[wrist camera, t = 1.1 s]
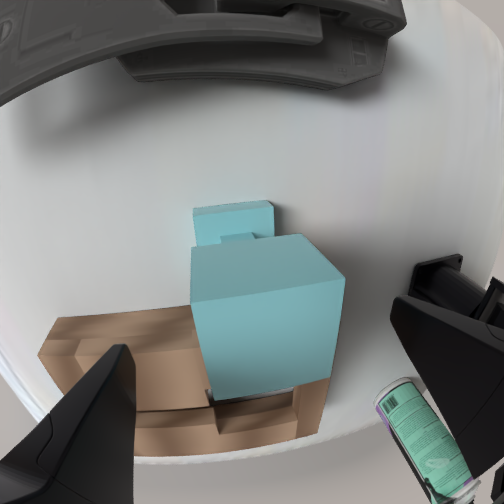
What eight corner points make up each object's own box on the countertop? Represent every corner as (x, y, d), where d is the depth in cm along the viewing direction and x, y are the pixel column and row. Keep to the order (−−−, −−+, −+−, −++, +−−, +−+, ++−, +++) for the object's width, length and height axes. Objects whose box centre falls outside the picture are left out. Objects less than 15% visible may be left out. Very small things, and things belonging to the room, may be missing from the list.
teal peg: (266, 199, 15) (345, 278, 7) (269, 265, 17) (330, 377, 9) (193, 208, 15) (190, 302, 6) (202, 274, 16) (214, 400, 8)
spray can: (368, 412, 28) (435, 532, 10) (380, 386, 26) (464, 521, 8) (402, 398, 29) (471, 505, 11) (416, 371, 26) (500, 487, 8)
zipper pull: (-68, 27, 1) (415, -55, 4) (-12, 41, 7) (355, -18, 10) (-83, 179, 4) (454, 89, 8) (-15, 157, 10) (374, 95, 14)
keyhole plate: (314, 286, 18) (340, 321, 14) (303, 400, 23) (317, 433, 20) (57, 317, 15) (37, 355, 12) (120, 421, 21) (116, 455, 17)
